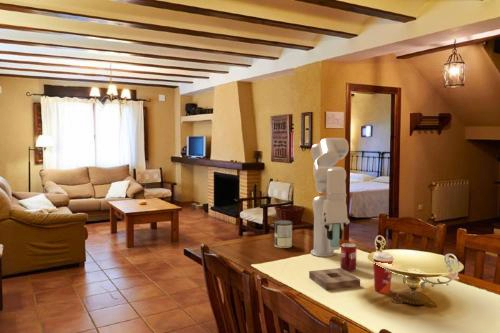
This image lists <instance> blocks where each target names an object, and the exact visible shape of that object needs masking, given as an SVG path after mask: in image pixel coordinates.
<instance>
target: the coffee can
mask: <svg viewBox="0 0 500 333" xmlns="http://www.w3.org/2000/svg"><path fill="white" fill-rule="evenodd" d="M292 246H293V221H291V220H287V219H286V220H283V219H282V220H281V219H279V220H275V221H274V247H276V248H278V249H279V248H280V249H285V248H286V249H287V248H292Z"/></svg>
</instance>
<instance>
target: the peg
mask: <svg viewBox="0 0 500 333" xmlns="http://www.w3.org/2000/svg"><path fill="white" fill-rule="evenodd" d="M331 231H332V240H330V246H331V247H340V239H339V235H340V223H337V224H332V229H331Z"/></svg>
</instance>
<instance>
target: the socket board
mask: <svg viewBox="0 0 500 333" xmlns="http://www.w3.org/2000/svg"><path fill="white" fill-rule="evenodd" d="M308 272H309V273H308V278H309V279H310V280H312V281H313V282H314V283H315V284H317V285H318V286H320V287H321V288H322V289H324V290H325V291H331V290H341V289H348V288H355V287H356V288H358V287H361V279H360V278H358V277H357V276H355V275H353V274H352V273H351V272H347V271H345V270H343V269H342V268H341V267H339V268H329V269H318V270H309V271H308Z"/></svg>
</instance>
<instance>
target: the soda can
mask: <svg viewBox="0 0 500 333" xmlns="http://www.w3.org/2000/svg"><path fill="white" fill-rule="evenodd" d="M357 249H358V246H357V245H356V244H354V243H351V242H350V243H348V242H347V243H346V242H345V243H342V244H341V245H340V268H342V269H343V270H345V271H347V272H349V273H351V272H355V271H357V253H358V252H357Z"/></svg>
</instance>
